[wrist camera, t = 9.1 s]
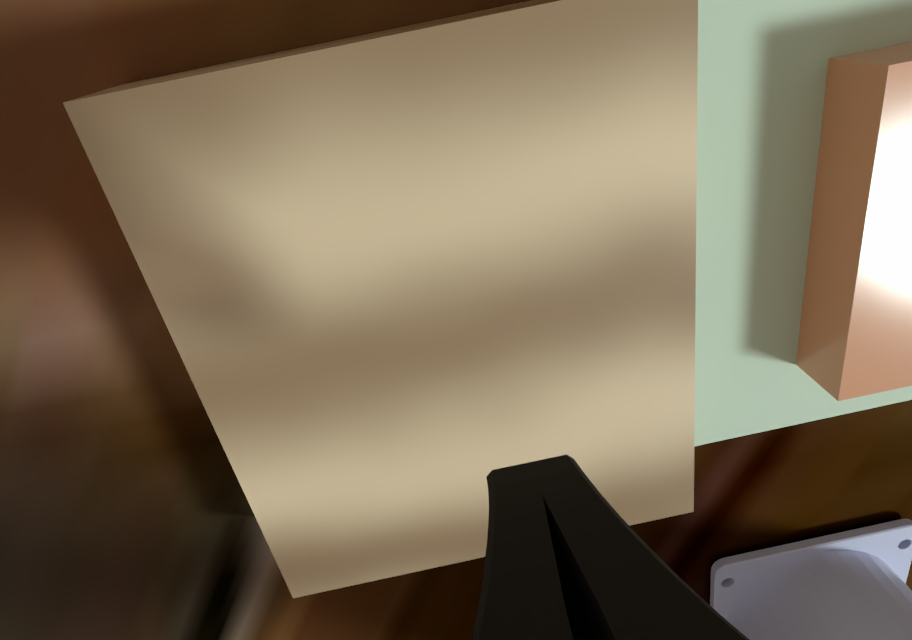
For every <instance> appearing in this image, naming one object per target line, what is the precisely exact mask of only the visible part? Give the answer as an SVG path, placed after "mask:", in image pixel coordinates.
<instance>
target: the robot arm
mask: <svg viewBox="0 0 912 640" xmlns="http://www.w3.org/2000/svg"><path fill="white" fill-rule="evenodd" d="M486 478H487V485H488V496H489V521H488V536H487V547H486V555H485V563H484V571H483V579H482V587H481V593H480V599H479V604H478V609H477V614H476V620H475V625H474V630H473V635H472V640H912V591H911V590H910V589H909V587H908V586H907V585H906V580H907V576H908V572H909V568H910V564H911V560H912V521H911V520H909V519H899V520H894V521H890V522H885V523H881V524H876V525H871V526H867V527H862V528H858V529H853V530H848V531H844V532H839V533H835V534H830V535H825V536H821V537H816V538H812V539H807V540H802V541H798V542H793V543H789V544H784V545H779V546H775V547H770V548H766V549H761V550H756V551H752V552H747V553H743V554H738V555H733V556H729V557H724V558H721V559H719V560H717V561H716V562H715V563H714V564H713V565H712V568H711V586H710V605H709V604H708V603H707V602H706V601H705V600H704V599H703V598H701V597H700V596H699V595H698V594H697V593H696V592H695V591H694V590H693V589H692V588H691V587H690V586H689V585H687V584H686V583H685V582H684V581H683V580H682V579H681V578H680V577H679V576H678V575H677V574H676V573H675V572H674V571H673V570H672V569H671V568H670V567H669V566H668V565H667V564H666V563H665V562H664V561H663V560H662V559H661V558H660V557H659V556H658V555H657V554H656V553H655V552H654V551H653V550H652V549H651V548H650V547H649V546H648V545H647V544H646V543H645V542H644V541H643V540H642V539H641V538H640V537H639V536H638V535H637V534H636V533H635V531H634V530H633V529H632V528H631V527H630V526H629V525H628V524H627V523H626V522H625V521H624V520H623V519H622V517H621V516H620V515H619V514H618V513H617V512H616V511H615V510H614V508H613V507H612V506H611V505H610V504H609V503H608V501H607V500H606V499H605V498H604V497H603V496H602V494H601V493H600V492H599V491H598V490H597V488H596V487H595V486H594V485H593V483H592V482H591V481H590V480H589V478H588V477H587V476H586V475H585V473H584V472H583V471H582V469H581V468H580V467H579V465H578V464H577V462H576V461H575V459H574V458H572V457H570V456H569V455H562V456H557V457H552V458H547V459H543V460H538V461H533V462H528V463H523V464H519V465H514V466H509V467H504V468H499V469H495V470H492V471H491V472H490V473H489V474H488V475H487V477H486Z"/></svg>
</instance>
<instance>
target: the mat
mask: <svg viewBox="0 0 912 640" xmlns="http://www.w3.org/2000/svg"><path fill="white" fill-rule="evenodd" d="M911 41H912V0H698V70H697V187H696V303H695V419H694V446H698V445H703V444H707V443H712V442H717V441H721V440H726V439H731V438H735V437H740V436H745V435H749V434H754V433H759V432H763V431H768V430H773V429H777V428H782V427H787V426H791V425H796V424H801V423H805V422H810V421H814V420H819V419H824V418H828V417H833V416H838V415H842V414H847V413H852V412H856V411H861V410H866V409H870V408H875V407H880V406H884V405H889V404H894V403H898V402H903V401H908V400H912V386H908V387H903V388H898V389H893V390H889V391H884V392H879V393H875V394H870V395H865V396H860V397H856V398H851V399H846V400H841V401H837V400H836V399H835V398H834V397H833V396H832V395H830V394H829V393H828V392H827V391H826V390H825V389H824V388H822V387H821V386H820V385H819V384H818V383H817V382H815V381H814V380H813V379H812V378H811V377H810V376H809V375H807V374H806V373H805V372H804V371H803V370H802V369H800V368H799V367H798V366H797V365H796V359H797V350H798V341H799V331H800V322H801V313H802V303H803V294H804V285H805V275H806V266H807V257H808V247H809V238H810V229H811V219H812V210H813V201H814V191H815V182H816V173H817V163H818V154H819V145H820V135H821V126H822V116H823V107H824V98H825V88H826V79H827V70H828V60H829V58H832V57H837V56H842V55H847V54H852V53H857V52H862V51H867V50H872V49H877V48H882V47H887V46H891V45H896V44H901V43H906V42H911Z"/></svg>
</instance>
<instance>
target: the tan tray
mask: <svg viewBox="0 0 912 640" xmlns="http://www.w3.org/2000/svg"><path fill="white" fill-rule="evenodd" d="M697 70H698V0H530V1H525V2H520V3H515V4H510V5H506V6H501V7H496V8H491V9H486V10H481V11H476V12H471V13H467V14H462V15H457V16H452V17H447V18H442V19H437V20H432V21H428V22H423V23H418V24H413V25H408V26H403V27H398V28H393V29H389V30H384V31H379V32H374V33H369V34H364V35H359V36H354V37H350V38H345V39H340V40H335V41H330V42H325V43H320V44H315V45H311V46H306V47H301V48H296V49H291V50H286V51H281V52H276V53H272V54H267V55H262V56H257V57H252V58H247V59H242V60H237V61H233V62H228V63H223V64H218V65H213V66H208V67H203V68H198V69H194V70H189V71H184V72H179V73H174V74H169V75H164V76H159V77H155V78H150V79H145V80H140V81H135V82H130V83H125V84H122V85H118V86H115V87H112V88H109V89H105V90H102V91H99V92H96V93H92V94H89V95H86V96H82V97H79V98H76V99H73V100H69V101H66V102H63V105H64V107H65V109H66V111H67V113H68V115H69V118H70V120H71V122H72V124H73V126H74V128H75V130H76V133H77V135H78V137H79V139H80V141H81V143H82V146H83V148H84V150H85V152H86V154H87V156H88V158H89V161H90V163H91V165H92V167H93V169H94V171H95V173H96V176H97V178H98V180H99V182H100V184H101V186H102V189H103V191H104V193H105V195H106V197H107V199H108V201H109V204H110V206H111V208H112V210H113V212H114V214H115V216H116V219H117V221H118V223H119V225H120V227H121V229H122V232H123V234H124V236H125V238H126V240H127V242H128V244H129V247H130V249H131V251H132V253H133V255H134V257H135V260H136V262H137V264H138V266H139V268H140V270H141V272H142V275H143V277H144V279H145V281H146V283H147V285H148V287H149V290H150V292H151V294H152V296H153V298H154V300H155V303H156V305H157V307H158V309H159V311H160V313H161V315H162V318H163V320H164V322H165V324H166V326H167V328H168V330H169V333H170V335H171V337H172V339H173V341H174V343H175V346H176V348H177V350H178V352H179V354H180V356H181V358H182V361H183V363H184V365H185V367H186V369H187V371H188V373H189V376H190V378H191V380H192V382H193V384H194V386H195V389H196V391H197V393H198V395H199V397H200V399H201V401H202V404H203V406H204V408H205V410H206V412H207V414H208V416H209V419H210V421H211V423H212V425H213V427H214V429H215V432H216V434H217V436H218V438H219V440H220V442H221V444H222V447H223V449H224V451H225V453H226V455H227V457H228V460H229V462H230V464H231V466H232V468H233V470H234V472H235V475H236V477H237V479H238V481H239V483H240V485H241V487H242V490H243V492H244V494H245V496H246V498H247V500H248V503H249V505H250V507H251V509H252V511H253V513H254V515H255V518H256V520H257V522H258V524H259V526H260V528H261V530H262V533H263V535H264V537H265V539H266V541H267V543H268V546H269V548H270V550H271V552H272V554H273V556H274V558H275V561H276V563H277V565H278V567H279V569H280V571H281V573H282V576H283V578H284V580H285V582H286V584H287V586H288V589H289V591H290V593H291V595H292V597H293V598H297V597H302V596H306V595H311V594H315V593H320V592H325V591H329V590H334V589H339V588H343V587H348V586H352V585H357V584H362V583H366V582H371V581H376V580H380V579H385V578H389V577H394V576H399V575H403V574H408V573H413V572H417V571H422V570H426V569H431V568H436V567H440V566H445V565H450V564H454V563H459V562H463V561H468V560H473V559H477V558H482V557H485V555H486V547H487V536H488V521H489V496H488V485H487V478H486V477H487V475H488V474H489V473H490V472H491V471H492V470H495V469H499V468H504V467H509V466H514V465H519V464H523V463H528V462H533V461H538V460H543V459H547V458H552V457H557V456H562V455H569V456H570V457H572V458H574V459H575V461H576V462H577V464H578V465H579V467H580V468H581V469H582V471H583V472H584V473H585V475H586V476H587V477H588V478H589V480H590V481H591V482H592V483H593V485H594V486H595V487H596V488H597V490H598V491H599V492H600V493H601V494H602V496H603V497H604V498H605V499H606V500H607V501H608V503H609V504H610V505H611V506H612V507H613V508H614V510H615V511H616V512H617V513H618V514H619V515H620V516H621V517H622V519H623V520H624V521H625V522H626V523H627V524H628V525H629V526H630V525H634V524H639V523H644V522H648V521H653V520H658V519H662V518H667V517H671V516H676V515H681V514H685V513H690V512H694V419H695V303H696V187H697Z"/></svg>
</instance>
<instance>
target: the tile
mask: <svg viewBox="0 0 912 640" xmlns="http://www.w3.org/2000/svg"><path fill="white" fill-rule="evenodd" d="M796 365H797V366H798V367H799V368H800V369H802V370H803V371H804V372H805V373H806V374H807V375H809V376H810V377H811V378H812V379H813V380H814V381H815V382H817V383H818V384H819V385H820V386H821V387H822V388H824V389H825V390H826V391H827V392H828V393H829V394H830V395H832V396H833V397H834V398H835V399H836V400H837V401H841V400H846V399H851V398H856V397H860V396H865V395H870V394H875V393H879V392H884V391H889V390H893V389H898V388H903V387H908V386H912V41H911V42H906V43H901V44H896V45H891V46H887V47H882V48H877V49H872V50H867V51H862V52H857V53H852V54H847V55H842V56H837V57H832V58H829V60H828V70H827V79H826V88H825V98H824V107H823V116H822V126H821V135H820V145H819V154H818V163H817V173H816V182H815V191H814V201H813V210H812V219H811V229H810V238H809V247H808V257H807V266H806V275H805V285H804V294H803V303H802V313H801V322H800V331H799V341H798V350H797V359H796Z"/></svg>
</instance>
